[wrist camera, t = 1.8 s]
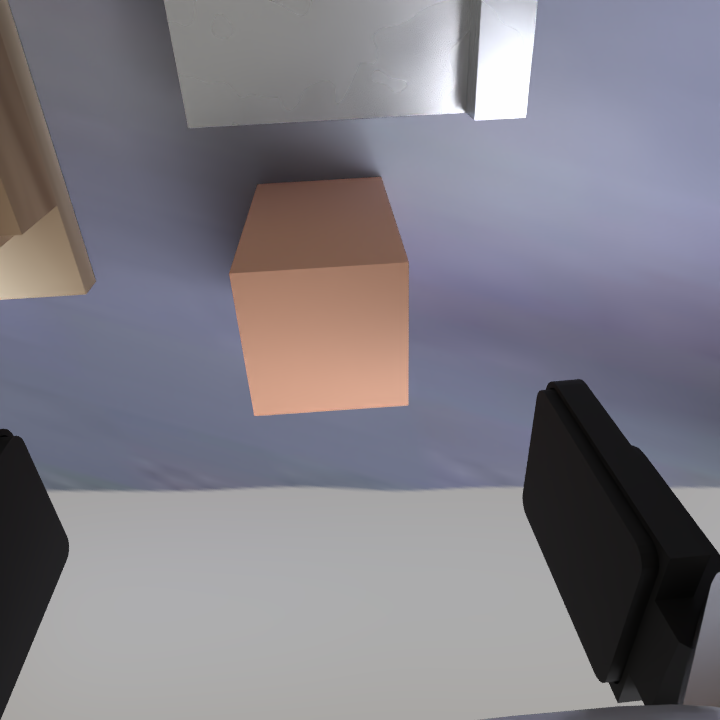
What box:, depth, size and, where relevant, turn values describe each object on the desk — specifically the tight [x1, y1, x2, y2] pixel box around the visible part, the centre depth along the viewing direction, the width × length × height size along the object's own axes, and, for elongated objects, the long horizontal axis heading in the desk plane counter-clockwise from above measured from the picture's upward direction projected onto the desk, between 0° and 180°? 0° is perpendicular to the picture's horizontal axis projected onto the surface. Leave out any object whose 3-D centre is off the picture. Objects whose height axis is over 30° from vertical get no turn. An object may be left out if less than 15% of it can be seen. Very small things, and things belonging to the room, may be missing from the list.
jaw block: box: [229, 177, 409, 416], centre depth 17 cm, size 4×4×7 cm
